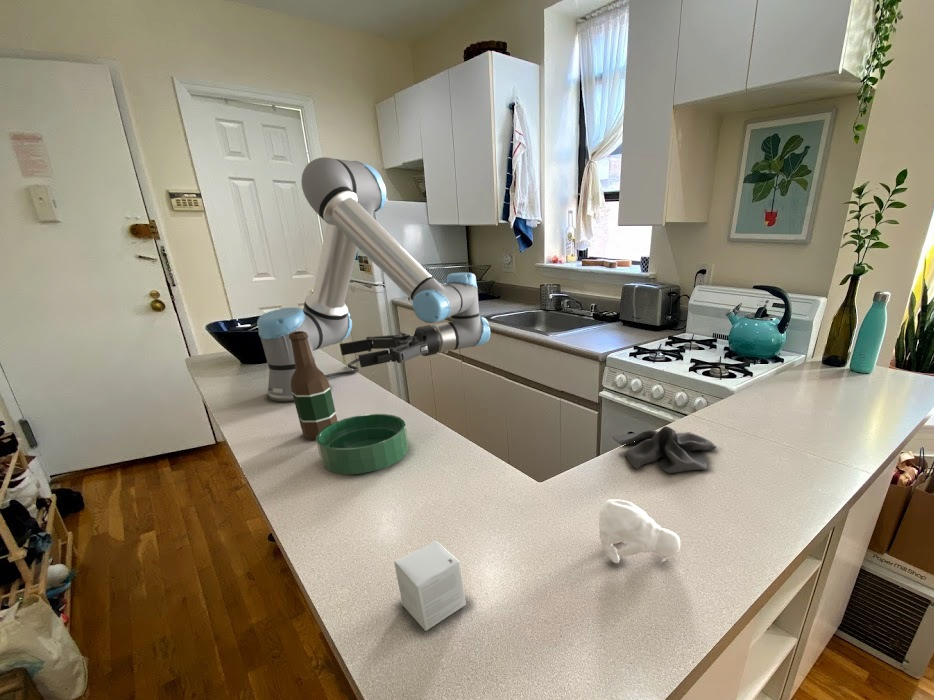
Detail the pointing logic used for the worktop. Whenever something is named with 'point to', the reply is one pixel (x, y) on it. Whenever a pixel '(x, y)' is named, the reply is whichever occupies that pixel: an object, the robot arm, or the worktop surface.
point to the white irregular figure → (633, 532)
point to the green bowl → (362, 443)
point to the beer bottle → (310, 389)
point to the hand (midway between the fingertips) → (350, 355)
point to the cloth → (667, 449)
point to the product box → (430, 584)
